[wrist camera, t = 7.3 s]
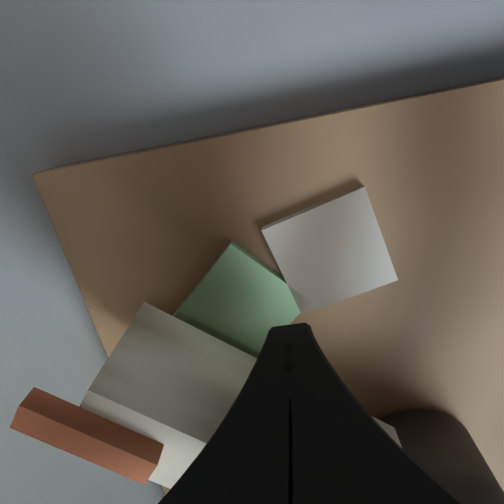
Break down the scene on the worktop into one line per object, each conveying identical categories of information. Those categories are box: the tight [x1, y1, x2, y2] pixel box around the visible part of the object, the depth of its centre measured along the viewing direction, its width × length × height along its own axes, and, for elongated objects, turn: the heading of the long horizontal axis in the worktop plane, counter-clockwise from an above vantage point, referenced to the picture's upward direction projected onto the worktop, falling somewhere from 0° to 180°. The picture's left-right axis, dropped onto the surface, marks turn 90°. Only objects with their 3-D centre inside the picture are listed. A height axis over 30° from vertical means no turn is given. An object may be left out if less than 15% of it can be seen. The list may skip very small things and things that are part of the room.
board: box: [32, 77, 504, 495], centre depth 13 cm, size 20×20×1 cm
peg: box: [10, 302, 504, 504], centre depth 10 cm, size 14×4×5 cm, turn 60°
